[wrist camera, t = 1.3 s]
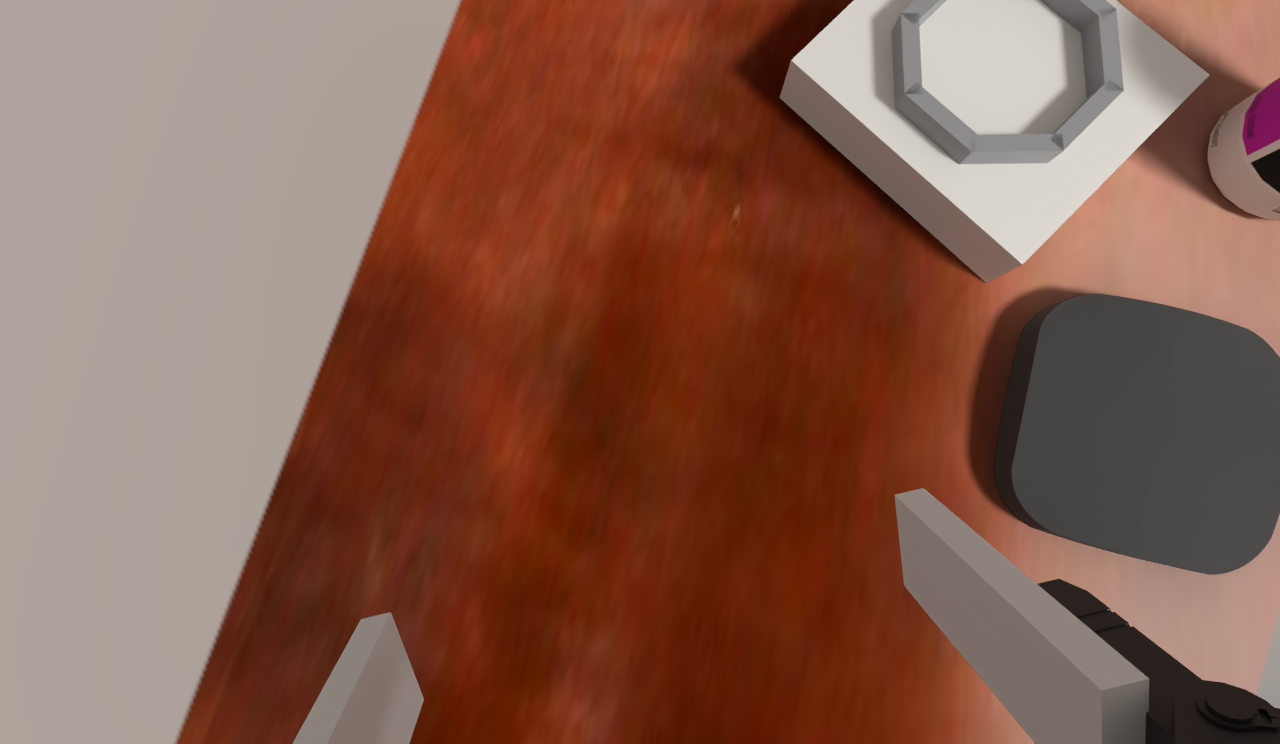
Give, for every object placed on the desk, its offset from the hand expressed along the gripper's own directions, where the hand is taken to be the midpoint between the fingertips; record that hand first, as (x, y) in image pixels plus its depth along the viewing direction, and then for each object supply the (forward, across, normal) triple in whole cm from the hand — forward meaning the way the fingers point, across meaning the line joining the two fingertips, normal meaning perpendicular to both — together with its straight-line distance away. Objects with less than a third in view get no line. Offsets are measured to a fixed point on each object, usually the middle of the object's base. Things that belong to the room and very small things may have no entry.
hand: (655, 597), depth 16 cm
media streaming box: (+20, -29, +10) cm, 37 cm away
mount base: (+28, -26, -11) cm, 40 cm away
